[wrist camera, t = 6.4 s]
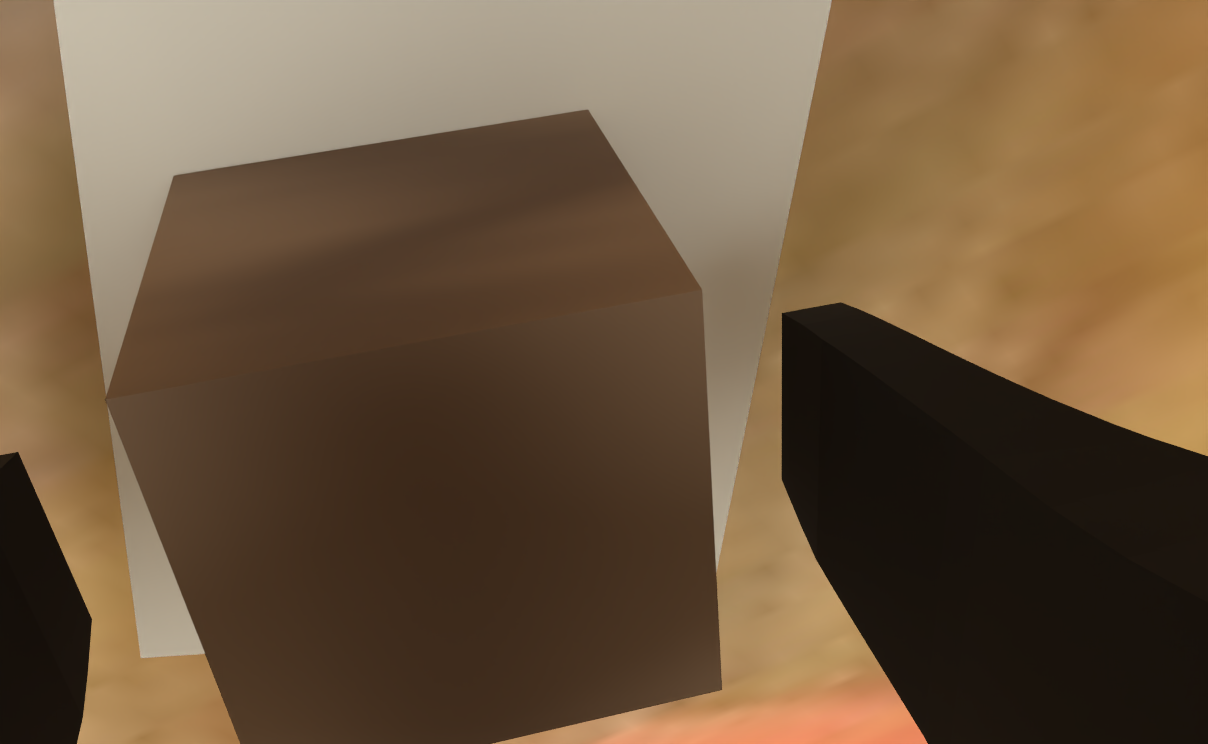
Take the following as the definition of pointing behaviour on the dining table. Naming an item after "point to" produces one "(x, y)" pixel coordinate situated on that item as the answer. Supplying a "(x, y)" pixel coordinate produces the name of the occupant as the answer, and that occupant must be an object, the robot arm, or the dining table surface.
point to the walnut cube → (428, 437)
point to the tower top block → (436, 105)
